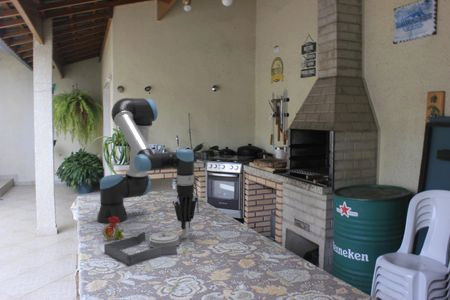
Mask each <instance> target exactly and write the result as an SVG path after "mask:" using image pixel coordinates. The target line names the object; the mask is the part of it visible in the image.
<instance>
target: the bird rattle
mask: <svg viewBox="0 0 450 300" xmlns="http://www.w3.org/2000/svg"><path fill="white" fill-rule="evenodd" d="M108 220H109V222H110V223H106V225H104V227H103V228H102V236H103V237H104V238H105V239H106V241H107V242H108V241H111V240H114V239H118V241H120V240H122V239H123V238H124V234H123V232H124V229H120V228H119V226H118V225H117V224H119V223H121V222H120V220H119V219H118V217H115V216H114V217H109V218H108Z"/></svg>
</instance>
